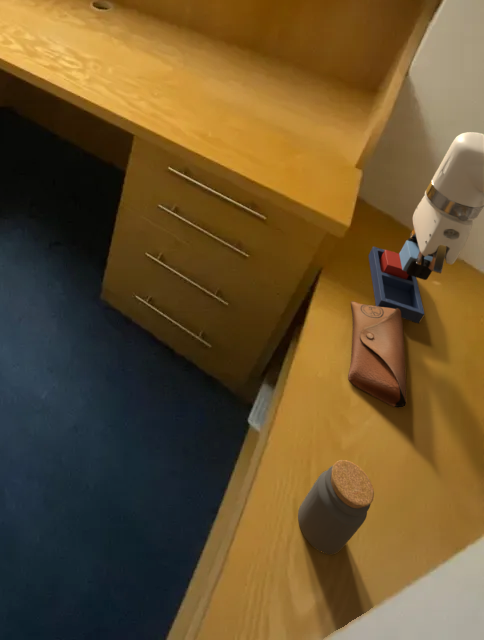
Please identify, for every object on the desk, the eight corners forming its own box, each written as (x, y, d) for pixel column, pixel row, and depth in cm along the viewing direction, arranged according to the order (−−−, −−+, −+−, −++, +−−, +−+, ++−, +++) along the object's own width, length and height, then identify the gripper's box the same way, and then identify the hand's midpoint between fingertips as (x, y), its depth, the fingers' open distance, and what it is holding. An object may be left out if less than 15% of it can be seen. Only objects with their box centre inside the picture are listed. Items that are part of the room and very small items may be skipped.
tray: (406, 267, 108) (411, 257, 106) (418, 323, 97) (424, 314, 96) (368, 255, 110) (372, 246, 109) (376, 309, 100) (381, 300, 98)
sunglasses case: (348, 297, 101) (377, 287, 97) (377, 322, 100) (408, 313, 96) (346, 383, 88) (380, 376, 83) (380, 412, 87) (416, 407, 82)
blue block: (423, 261, 97) (431, 247, 95) (427, 278, 94) (436, 264, 92) (398, 253, 98) (406, 240, 96) (402, 270, 95) (410, 256, 93)
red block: (400, 268, 107) (407, 255, 105) (403, 284, 103) (410, 271, 101) (378, 261, 108) (385, 249, 106) (381, 277, 105) (387, 264, 103)
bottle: (335, 505, 74) (368, 459, 66) (349, 560, 69) (387, 517, 61) (292, 496, 75) (321, 450, 67) (303, 549, 70) (335, 506, 62)
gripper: (496, 243, 79) (447, 312, 88) (467, 171, 92) (427, 238, 101) (439, 227, 81) (397, 295, 91) (418, 159, 95) (384, 225, 104)
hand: (413, 264), depth 96 cm, fingers closed on blue block, 4 cm apart
